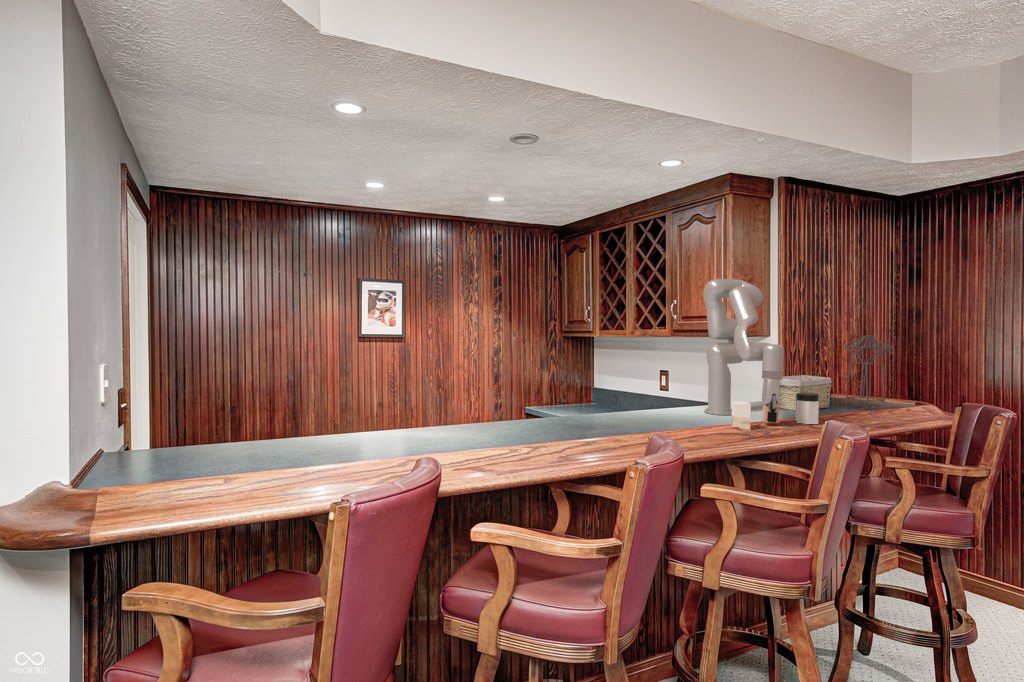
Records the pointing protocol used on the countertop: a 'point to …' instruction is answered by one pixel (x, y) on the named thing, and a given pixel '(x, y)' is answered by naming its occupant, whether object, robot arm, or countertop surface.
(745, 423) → the base block
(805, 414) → the jar
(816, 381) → the storage basket
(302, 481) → the countertop surface
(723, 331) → the robot arm
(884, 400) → the geometric lantern
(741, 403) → the middle block
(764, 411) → the top block
